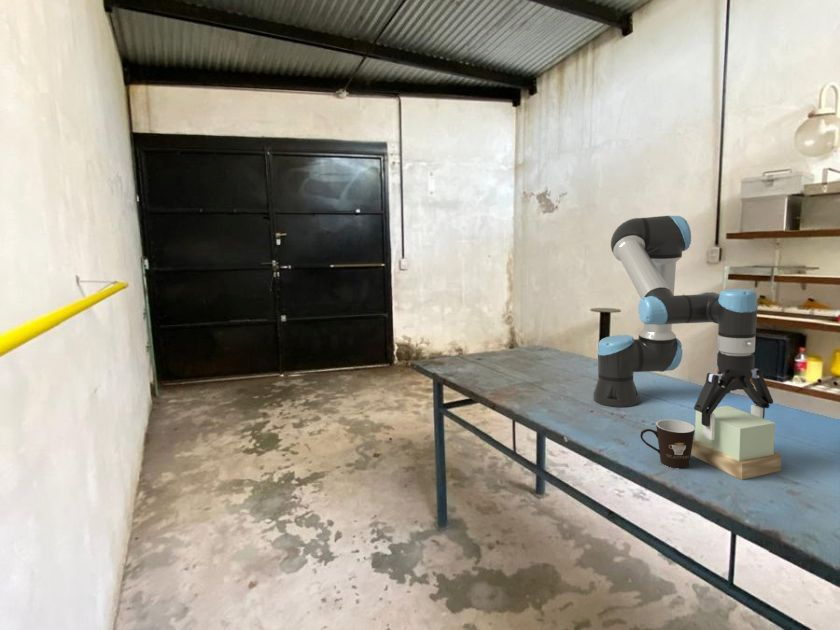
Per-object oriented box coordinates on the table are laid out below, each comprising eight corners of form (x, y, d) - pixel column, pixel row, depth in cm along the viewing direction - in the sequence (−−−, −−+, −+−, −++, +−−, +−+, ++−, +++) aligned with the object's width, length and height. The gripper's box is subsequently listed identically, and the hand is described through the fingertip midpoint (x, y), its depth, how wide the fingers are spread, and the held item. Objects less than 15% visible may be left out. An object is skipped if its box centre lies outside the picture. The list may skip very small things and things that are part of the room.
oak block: (688, 453, 120) (688, 439, 119) (724, 446, 123) (724, 432, 122) (741, 479, 105) (742, 463, 105) (780, 470, 108) (781, 455, 108)
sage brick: (695, 439, 119) (695, 410, 118) (726, 434, 121) (727, 405, 120) (739, 461, 106) (740, 428, 105) (773, 454, 108) (775, 422, 107)
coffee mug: (697, 460, 115) (698, 423, 114) (690, 474, 109) (690, 435, 108) (648, 449, 123) (648, 415, 122) (639, 461, 117) (639, 425, 116)
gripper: (702, 361, 105) (699, 447, 108) (794, 350, 108) (789, 433, 111) (679, 354, 112) (677, 434, 115) (765, 344, 116) (762, 422, 119)
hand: (732, 434), depth 113 cm, fingers open, 13 cm apart
